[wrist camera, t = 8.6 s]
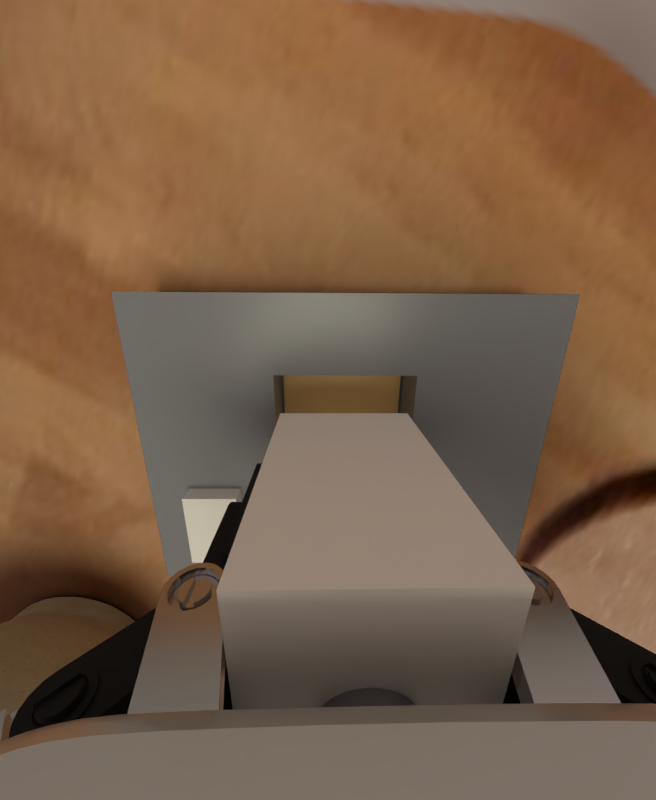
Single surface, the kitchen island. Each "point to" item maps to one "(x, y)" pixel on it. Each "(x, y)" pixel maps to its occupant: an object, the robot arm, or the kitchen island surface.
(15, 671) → the planter bowl
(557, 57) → the kitchen island surface
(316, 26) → the kitchen island surface
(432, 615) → the plug
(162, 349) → the socket
